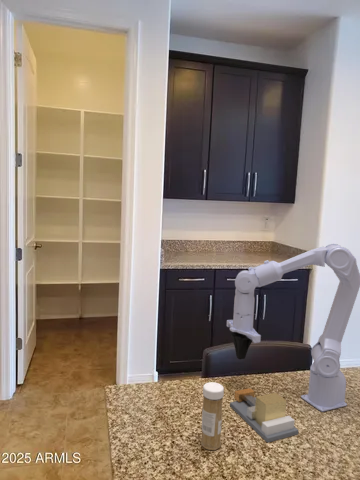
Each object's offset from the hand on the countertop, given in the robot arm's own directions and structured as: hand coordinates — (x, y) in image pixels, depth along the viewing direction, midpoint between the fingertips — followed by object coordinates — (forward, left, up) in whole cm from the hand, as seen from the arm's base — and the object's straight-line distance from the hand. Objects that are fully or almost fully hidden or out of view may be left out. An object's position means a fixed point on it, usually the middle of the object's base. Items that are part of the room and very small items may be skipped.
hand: (240, 358), depth 104 cm
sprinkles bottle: (+20, +19, -10) cm, 29 cm away
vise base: (+3, +15, -9) cm, 18 cm away
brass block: (+3, +18, -8) cm, 20 cm away
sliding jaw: (+3, +11, -8) cm, 14 cm away
